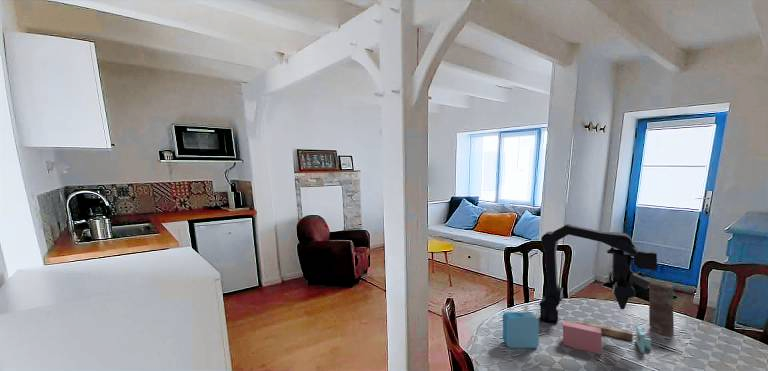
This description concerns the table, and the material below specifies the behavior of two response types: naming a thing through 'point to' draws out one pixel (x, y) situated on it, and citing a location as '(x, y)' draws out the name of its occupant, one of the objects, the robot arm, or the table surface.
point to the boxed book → (582, 337)
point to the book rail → (611, 331)
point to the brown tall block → (661, 308)
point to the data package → (520, 330)
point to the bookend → (642, 340)
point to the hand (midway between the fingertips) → (620, 304)
